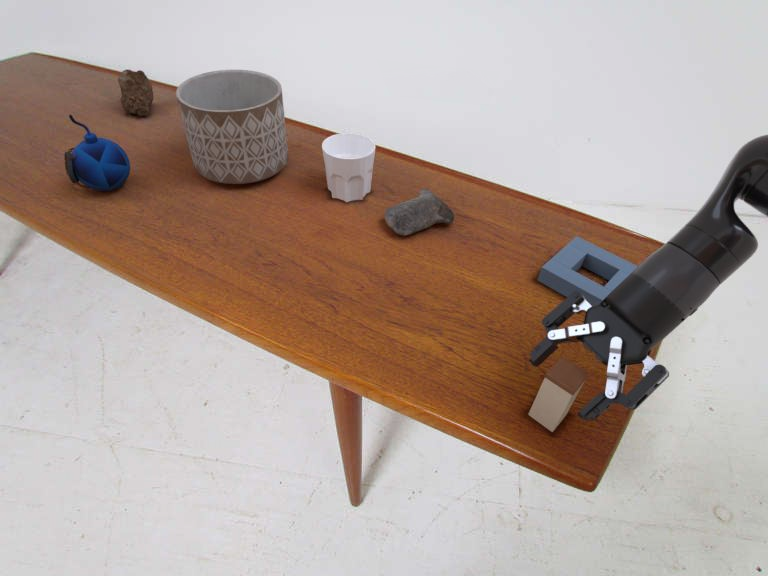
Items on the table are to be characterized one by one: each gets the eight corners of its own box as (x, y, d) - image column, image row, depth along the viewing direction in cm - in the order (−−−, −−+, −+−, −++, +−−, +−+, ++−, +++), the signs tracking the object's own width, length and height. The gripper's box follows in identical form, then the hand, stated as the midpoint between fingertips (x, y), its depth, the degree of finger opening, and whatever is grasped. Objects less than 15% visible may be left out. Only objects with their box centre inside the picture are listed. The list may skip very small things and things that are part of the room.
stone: (380, 223, 97) (400, 252, 90) (374, 202, 94) (394, 230, 87) (435, 199, 99) (459, 225, 92) (431, 177, 95) (456, 203, 88)
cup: (380, 200, 98) (382, 155, 92) (331, 208, 96) (329, 162, 89) (365, 174, 105) (366, 130, 98) (318, 181, 102) (316, 136, 96)
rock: (142, 120, 118) (122, 76, 112) (124, 119, 121) (103, 77, 114) (170, 104, 124) (152, 62, 118) (152, 104, 127) (134, 63, 121)
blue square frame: (641, 284, 84) (648, 271, 82) (609, 321, 77) (617, 308, 75) (571, 248, 90) (576, 235, 88) (537, 280, 83) (541, 267, 81)
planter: (177, 182, 100) (154, 102, 88) (221, 138, 114) (207, 64, 102) (267, 198, 97) (256, 117, 86) (302, 151, 111) (296, 76, 99)
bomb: (73, 181, 98) (40, 108, 88) (131, 169, 103) (106, 97, 92) (79, 207, 92) (44, 131, 82) (141, 193, 97) (115, 119, 86)
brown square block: (566, 414, 65) (589, 373, 59) (552, 432, 63) (574, 392, 57) (542, 397, 67) (561, 355, 60) (527, 414, 65) (546, 373, 58)
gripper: (604, 245, 58) (506, 342, 62) (712, 327, 49) (590, 435, 53) (619, 266, 64) (528, 353, 67) (719, 343, 55) (607, 439, 59)
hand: (555, 389), depth 60 cm, fingers open, 8 cm apart
